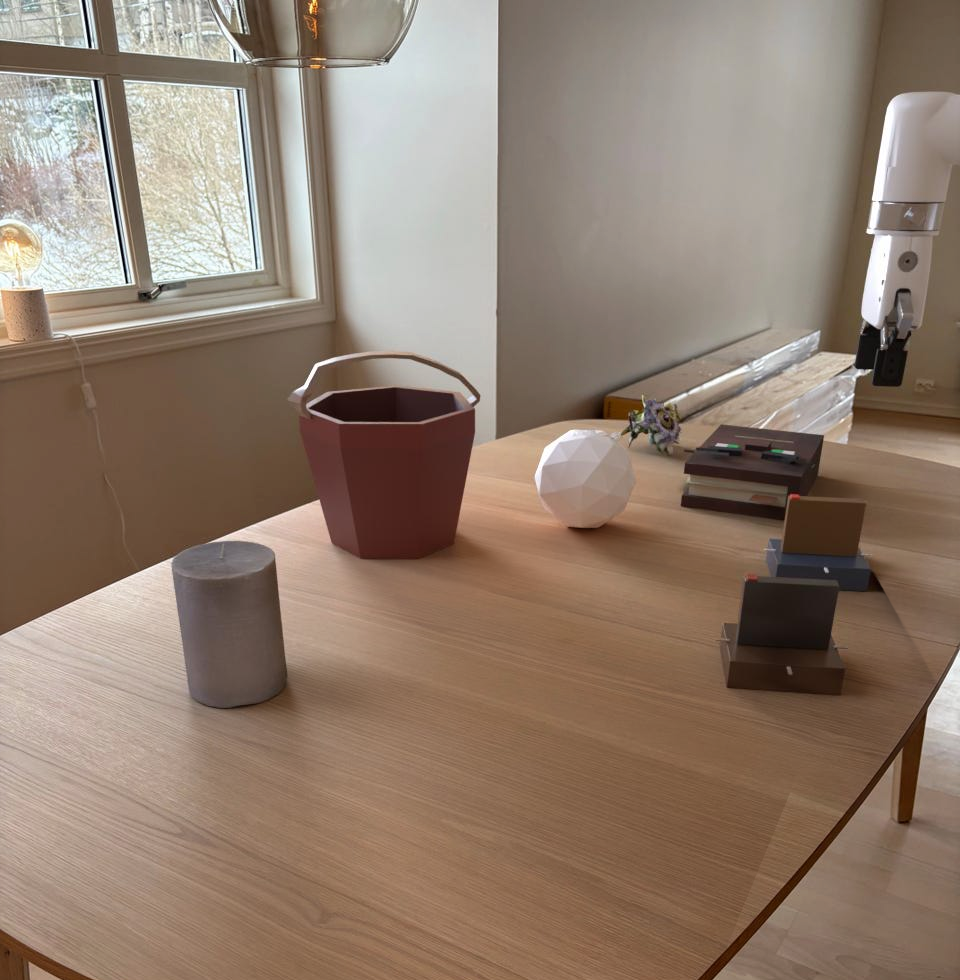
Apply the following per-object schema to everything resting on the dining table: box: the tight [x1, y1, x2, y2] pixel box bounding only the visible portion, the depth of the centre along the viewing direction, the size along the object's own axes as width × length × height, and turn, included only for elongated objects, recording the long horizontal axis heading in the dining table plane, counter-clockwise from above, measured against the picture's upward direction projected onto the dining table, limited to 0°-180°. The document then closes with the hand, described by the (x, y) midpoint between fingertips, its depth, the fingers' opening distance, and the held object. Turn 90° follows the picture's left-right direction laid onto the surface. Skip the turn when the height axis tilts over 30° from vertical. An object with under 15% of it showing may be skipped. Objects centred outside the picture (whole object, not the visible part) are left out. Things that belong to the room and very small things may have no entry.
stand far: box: [763, 538, 874, 592], centre depth 124 cm, size 13×13×3 cm
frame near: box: [736, 573, 840, 650], centre depth 99 cm, size 9×2×7 cm, turn 82°
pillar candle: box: [170, 540, 289, 709], centre depth 95 cm, size 10×10×15 cm
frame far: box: [781, 494, 867, 557], centre depth 122 cm, size 9×2×7 cm, turn 81°
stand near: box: [714, 622, 850, 696], centre depth 101 cm, size 13×13×3 cm
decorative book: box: [680, 424, 825, 521], centre depth 155 cm, size 19×8×30 cm
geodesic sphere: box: [534, 428, 637, 529], centre depth 139 cm, size 15×14×14 cm
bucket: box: [286, 350, 481, 560], centre depth 131 cm, size 24×22×25 cm
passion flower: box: [620, 394, 682, 456], centre depth 175 cm, size 11×11×12 cm
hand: (876, 377), depth 116 cm, fingers open, 9 cm apart
